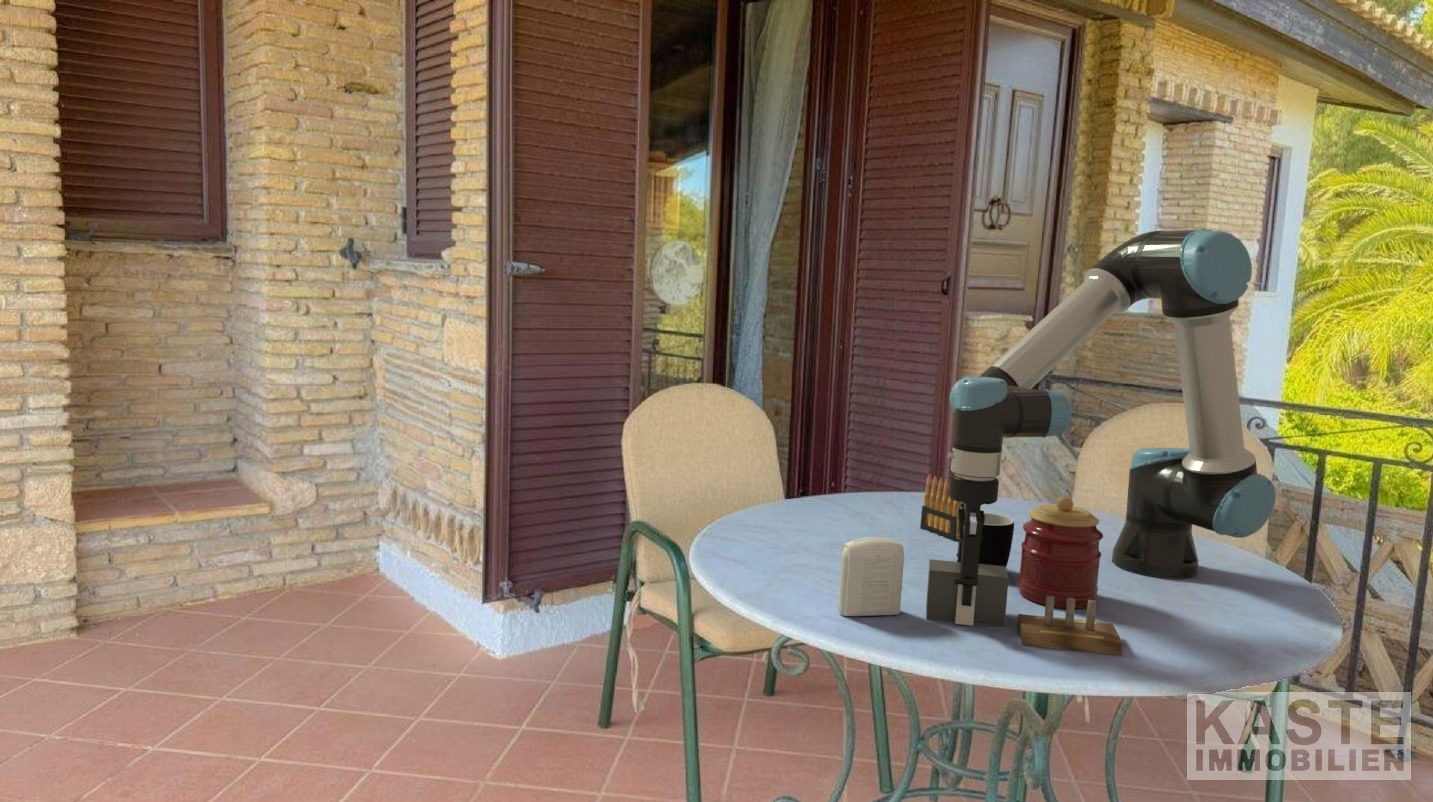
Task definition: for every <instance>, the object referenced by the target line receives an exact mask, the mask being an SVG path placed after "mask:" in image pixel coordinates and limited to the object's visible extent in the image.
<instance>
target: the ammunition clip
mask: <svg viewBox="0 0 1433 802" xmlns="http://www.w3.org/2000/svg"><path fill="white" fill-rule="evenodd" d="M961 504H962V502H958V501H955V500H953V499H951V498H950V497H949V479H947V478H946V480H945V482H944V480H943V477H940V479H939V481H938V477H937V475H935V476H934V478H933V480H932V475H931V473H929V474H928V476H927V479H926V486H925V491H924V498H923V505H922V506H921V517H920V525H919V529H920V530H922V531H923V530H924V531H925V530H927V531H926V532H928V531H929V532H928V533H931V534H933V533H935V534H934V535H936V534H937V536H939V537H941V536H943V537H942V538H943V539H947V540H949V539H950V541H953V542H957V541H958V542H959V532H958V523H959V522H958V509H961V508H962V507H961Z"/></svg>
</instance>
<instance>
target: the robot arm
mask: <svg viewBox="0 0 1433 802" xmlns="http://www.w3.org/2000/svg"><path fill="white" fill-rule="evenodd" d="M1252 273H1253V266H1252V259H1251V256H1250V254H1249V251H1248V249H1247V247H1246V246H1245V244H1244V243H1243V242H1242V241H1241V239H1239V238H1238V237H1236V236H1235V235H1233V234H1232V233H1229V232H1227V231H1223V230H1212V229H1204V228H1202V229H1187V230H1186V229H1184V230H1151V231H1149V232H1148V231H1147V232H1144V233H1141V234H1138V235H1136V236H1134V237H1132V238H1130V239H1129V240H1127V241H1125V242H1123V243H1122V244H1120V245H1118V246H1116V248H1114V249H1112V250H1111V251H1110V252H1108V253H1107V254H1106V255H1105V256H1104V257H1102V258H1101V259H1100V260H1099V261H1097V262H1096V263H1095V264H1094V265H1092V267H1090V268H1089V270H1087V271H1085V273H1084V276H1083V282H1082V284H1080V285H1078V287H1077V288H1076V289H1074V290H1073V292H1071V293H1070V294H1069V295H1068V296H1067V297H1066V298H1065V299H1063V300H1062V301H1061V302H1060V303H1059V304H1058V305H1057V306H1056V307H1055V308H1054V309H1052V310H1051V311H1050V312H1049V313H1047V315H1046V316H1045V317H1044V318H1042V319H1041V320H1040V321H1039V322H1038V323H1037V324H1036V325H1035V326H1034V327H1032V328H1031V329H1030V330H1029V331H1028V332H1026V334H1024V335H1023V336H1022V337H1021V338H1020V339H1019V340H1018V341H1017V342H1016V343H1015V344H1013V346H1011V347H1010V348H1009V349H1008V350H1007V351H1006V352H1004V353H1003V354H1002V355H1001V356H1000V357H999V358H998V359H997V360H996V361H994V362H993V364H991V365H990V366H989V367H988V368H986V369H985V370H984V371H983V372H982V373H981V374H979V375H978V376H974V375H973V376H964V377H963V378H960V379H959V380H957V381H956V382H955V383H954V385H953V386H952V388H951V391H950V394H949V403H950V404H949V405H950V409H952V413H954V418H953V434H952V451H953V452H948V453H947V458H948V459H951V463H950V464H951V465H950V466H951V467H950V470H951V472H952V474H950V476H949V480H948V482H949V497H950V498H951V499H953V500H955V501H958V502H961V509H958V522H959V523H958V532H959V541H958V543H957V553H956V557H957V560H956V562H961V569H960V579H959V580H955V584H958V593H957V605H956V618H955V622H954V624H956V625H963V626H974V624H973V621H974V609H975V597H976V586H977V585H978V566H979V552H980V541H981V540H982V530H983V525H984V523H985V515H984V513H985V511H984V510H981V506H982V505H992V504H995V503H996V502H997V501H998V495H999V487H1000V486H999V484H1000V481H999V479H998V477H999V476H1000V475H1001V468H1002V467H1001V466H1002V454H1003V443H1004V442H1003V441H1004V439H1009V438H1042V439H1046V438H1047V437H1048V438H1049V437H1056V436H1060V435H1062V434H1064V433H1065V432H1066V430H1068V428H1069V427H1070V425H1071V422H1072V421H1071V420H1072V406H1071V402H1070V401H1069V399H1068V397H1067V396H1066V395H1065V394H1064V393H1063V392H1062V391H1060V390H1051V389H1046V388H1043V389H1033V387H1034V386H1035V385H1036V384H1038V383H1039V382H1040V381H1041V380H1042V379H1044V378H1045V377H1046V376H1047V375H1048V374H1049V373H1050V372H1051V371H1052V370H1053V369H1054V368H1056V366H1058V364H1060V363H1061V362H1062V361H1063V360H1065V358H1067V357H1068V356H1069V355H1070V354H1071V353H1072V352H1073V351H1074V350H1075V349H1076V348H1077V347H1078V346H1079V345H1081V344H1082V343H1083V342H1084V341H1085V340H1086V339H1087V338H1089V337H1090V336H1091V335H1092V334H1093V333H1094V332H1095V331H1096V330H1097V329H1098V328H1099V327H1101V326H1102V325H1103V324H1104V323H1105V322H1106V321H1108V319H1109V318H1110V317H1111V316H1113V314H1115V313H1124V312H1125V311H1127V310H1128V309H1129V308H1131V306H1132V305H1134V304H1136V303H1138V302H1139V301H1143V300H1147V299H1160V302H1161V310H1162V311H1161V312H1162V316H1163V318H1165V319H1167V320H1168V321H1170V322H1171V323H1172V324H1173V326H1174V334H1175V342H1176V350H1177V357H1178V366H1179V373H1180V374H1179V375H1180V381H1181V383H1180V384H1181V389H1182V390H1181V392H1182V398H1183V407H1184V415H1185V421H1186V423H1185V424H1186V431H1187V439H1188V446H1189V448H1186V447H1184V448H1181V447H1145V448H1144V447H1143V448H1139V449H1137V450H1135V451H1134V452H1133V454H1132V457H1131V464H1130V467H1129V475H1128V476H1129V477H1128V485H1127V486H1128V488H1127V499H1126V500H1127V502H1126V515H1125V522H1124V525H1123V527H1122V529H1121V531H1120V533H1119V534H1118V535H1119V536H1118V538H1117V540H1116V542H1115V544H1114V546H1113V549H1112V556H1111V562H1112V563H1113V564H1114V565H1116V566H1117V567H1119V568H1121V569H1124V570H1127V571H1130V572H1133V573H1137V574H1140V575H1146V576H1151V577H1159V578H1167V579H1168V578H1169V579H1171V578H1172V579H1181V578H1182V579H1184V578H1190V577H1194V576H1196V575H1198V572H1199V557H1198V554H1197V549H1196V545H1195V540H1194V537H1193V531H1192V530H1193V526H1197V527H1200V528H1202V529H1206V530H1209V531H1212V532H1215V533H1216V534H1217V535H1220V536H1228V537H1231V538H1238V539H1239V538H1240V539H1241V538H1242V539H1243V538H1247V537H1250V536H1253V535H1254V534H1256V533H1258V531H1260V530H1261V529H1262V528H1263V527H1264V525H1266V524H1267V521H1268V519H1269V518H1270V517H1271V516H1272V513H1273V512H1274V508H1275V504H1276V497H1277V496H1276V492H1277V491H1276V488H1275V486H1274V483H1273V481H1271V480H1270V479H1269V478H1268V477H1267V476H1265V474H1264V475H1262V474H1261V473H1258V467H1257V458H1256V455H1255V454H1254V453H1253V452H1252V451H1250V450H1248V449H1247V448H1246V447H1245V440H1244V431H1243V423H1242V421H1243V420H1242V416H1241V415H1242V413H1241V406H1240V405H1241V404H1240V397H1239V396H1240V395H1239V387H1238V379H1237V378H1238V377H1237V371H1236V361H1235V352H1234V351H1235V350H1234V343H1233V335H1232V325H1231V316H1232V315H1233V313H1235V311H1236V310H1237V309H1238V308H1239V306H1240V304H1239V299H1240V298H1241V297H1242V296H1243V295H1244V294H1245V293H1246V292H1247V290H1248V288H1249V285H1248V283H1249V282H1250V281H1251V280H1252ZM966 576H970V577H966Z"/></svg>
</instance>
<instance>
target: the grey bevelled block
mask: <svg viewBox="0 0 1433 802" xmlns="http://www.w3.org/2000/svg"><path fill="white" fill-rule="evenodd" d="M928 561H929V563H928V574H927V575H928V576H927V589H926V601H925V602H926V604H925V611H926V612H925V613H926V614H925V616H926V617H925V618H926V620H934V621H944V622H953V623H955V618H956V605H957V593H958V584H955V580H959V579H960V569H961V562H957V561H952V560H951V561H950V560H941V559H930V558H929V560H928ZM966 577H970V576H966ZM1009 579H1010V578H1009V574H1008V570H1007V566H996V565H985V564H979V566H978V585H977V586H976V597H975V609H974V621H973V625H980V626H981V625H982V626H991V627H992V626H993V627H1001V628H1004V627H1005V625H1006V614H1007V604H1008V602H1007V600H1008V590H1009V589H1008V588H1009Z"/></svg>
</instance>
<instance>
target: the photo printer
mask: <svg viewBox="0 0 1433 802" xmlns="http://www.w3.org/2000/svg"><path fill="white" fill-rule="evenodd" d="M904 562H905V552H904V545H903V544H902V543H900V542H899V541H896V540H894V539H890V538H885V537H878V536H877V537H875V536H874V537H871V536H870V537H864V538H863V537H861V538H857V539H853V540H850V541H848V542H845V543H844V544H843V546H842V550H841V561H840V572H839V573H840V574H839V585H838V586H839V587H838V588H839V589H838V602H837V603H838V606H837V612H838V614H840V615H841V616H844V617H860V616H861V617H865V616H893V615H895V616H896V615H899V614H900V612H901V604H902V603H901V602H902V590H903V587H902V586H903V577H904V564H905V563H904Z"/></svg>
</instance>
